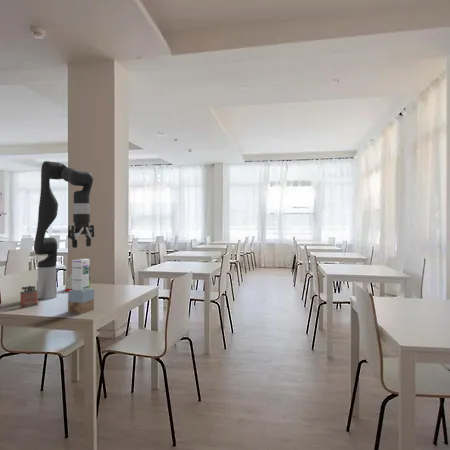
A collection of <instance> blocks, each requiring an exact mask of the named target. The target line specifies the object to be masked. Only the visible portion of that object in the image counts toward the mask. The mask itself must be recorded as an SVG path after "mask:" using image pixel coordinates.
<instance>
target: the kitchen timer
mask: <svg viewBox="0 0 450 450" xmlns="http://www.w3.org/2000/svg"><path fill="white" fill-rule="evenodd" d="M64 289H65V290H64V291H65V292H68V291H70V290H72V272H71V273H70V274H69V276H68V278H66V279H65V286H64Z"/></svg>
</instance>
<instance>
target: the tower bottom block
mask: <svg viewBox="0 0 450 450" xmlns="http://www.w3.org/2000/svg"><path fill="white" fill-rule="evenodd" d="M94 301H95V298H94V299H93V300H90V301H87V302H84V303H78V302H68V301H67V312H68V313H74V314H85V313H88V312H91V311H95V302H94Z"/></svg>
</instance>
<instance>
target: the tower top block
mask: <svg viewBox="0 0 450 450" xmlns="http://www.w3.org/2000/svg"><path fill="white" fill-rule="evenodd" d="M67 295H68V296H67V297H68V299H67V303H68V302H78V303H84V302H87V301H90V300H93V299H94V300H95V289H94V288H90V289H87V290H84V291H75V290H70V291H67Z"/></svg>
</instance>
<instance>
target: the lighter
mask: <svg viewBox="0 0 450 450" xmlns="http://www.w3.org/2000/svg"><path fill="white" fill-rule="evenodd" d="M21 290H22V291H20V292H19V294H20V304H19V305H20V308H28V307H29V306H30V307H34V306H39V302H38V301H39V298H38V290H37V289H36V285H32V286H31V285H28V286H22V287H21ZM30 307H29V308H30Z"/></svg>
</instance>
